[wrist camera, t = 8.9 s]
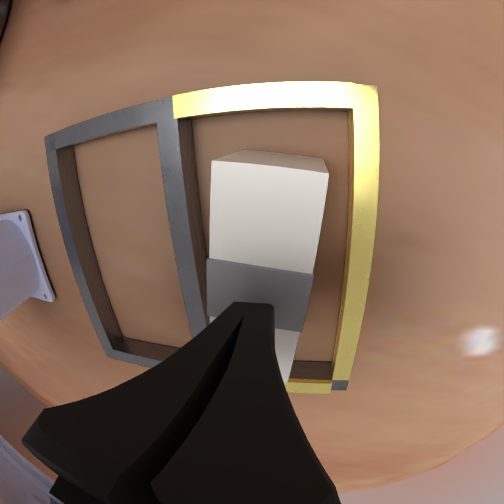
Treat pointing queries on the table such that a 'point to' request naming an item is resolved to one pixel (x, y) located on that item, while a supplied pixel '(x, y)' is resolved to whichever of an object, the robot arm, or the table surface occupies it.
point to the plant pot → (3, 13)
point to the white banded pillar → (266, 237)
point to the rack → (189, 214)
